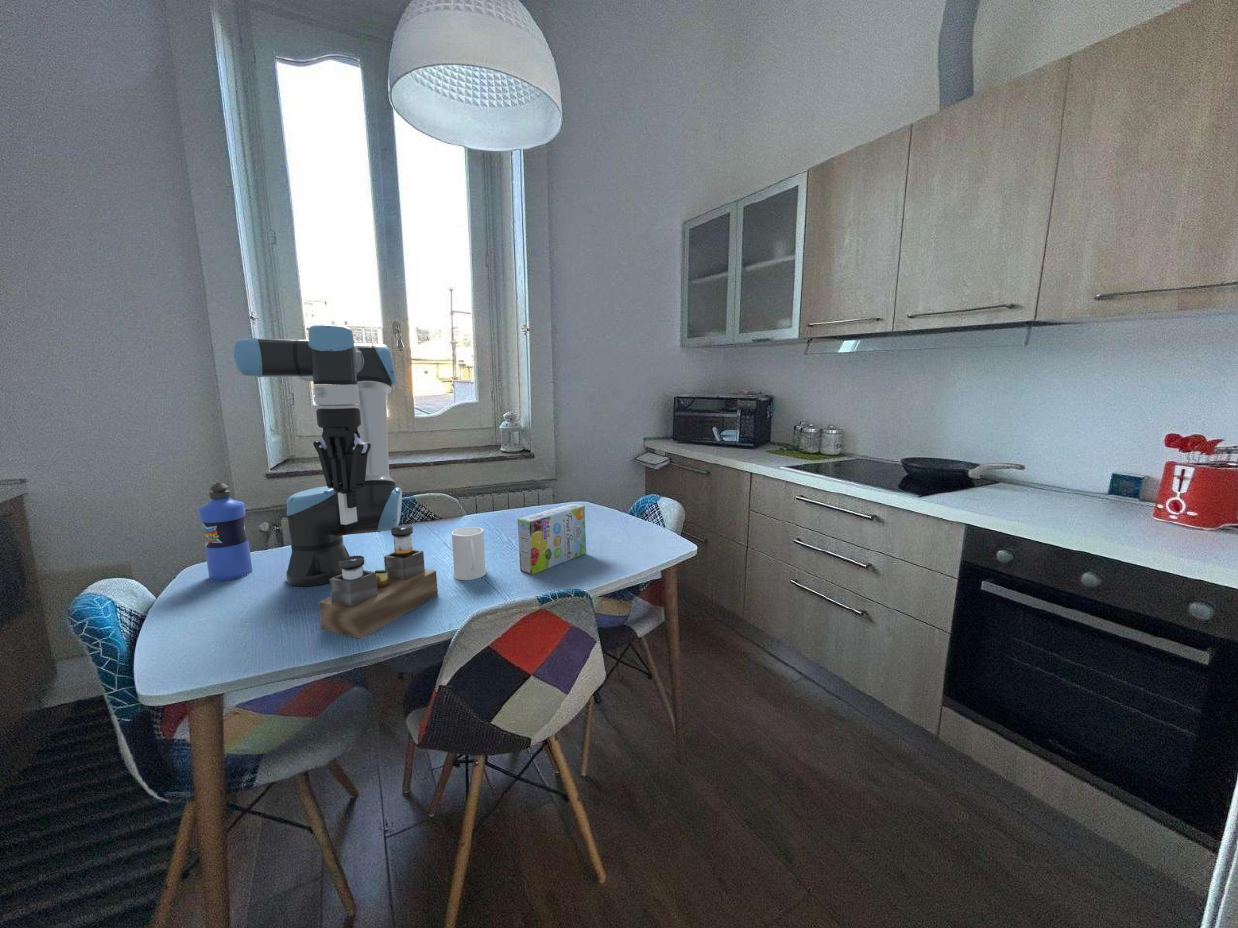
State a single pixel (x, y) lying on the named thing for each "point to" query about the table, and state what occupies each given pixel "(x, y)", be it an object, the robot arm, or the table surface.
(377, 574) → the screw
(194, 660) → the table surface
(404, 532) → the knob far
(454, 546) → the mug
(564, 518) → the snack box
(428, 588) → the mount
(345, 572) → the knob near
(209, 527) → the water bottle
